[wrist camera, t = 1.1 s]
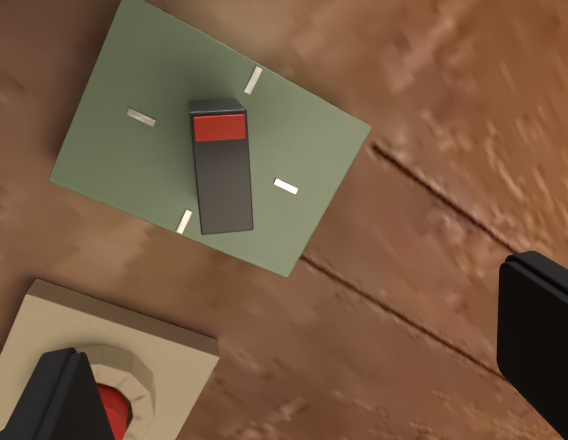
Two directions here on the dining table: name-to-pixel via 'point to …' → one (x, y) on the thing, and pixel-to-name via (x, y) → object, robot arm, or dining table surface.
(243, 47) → the dining table surface
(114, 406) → the power button
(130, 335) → the switch box
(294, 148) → the panel
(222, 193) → the red-striped black box
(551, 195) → the dining table surface
